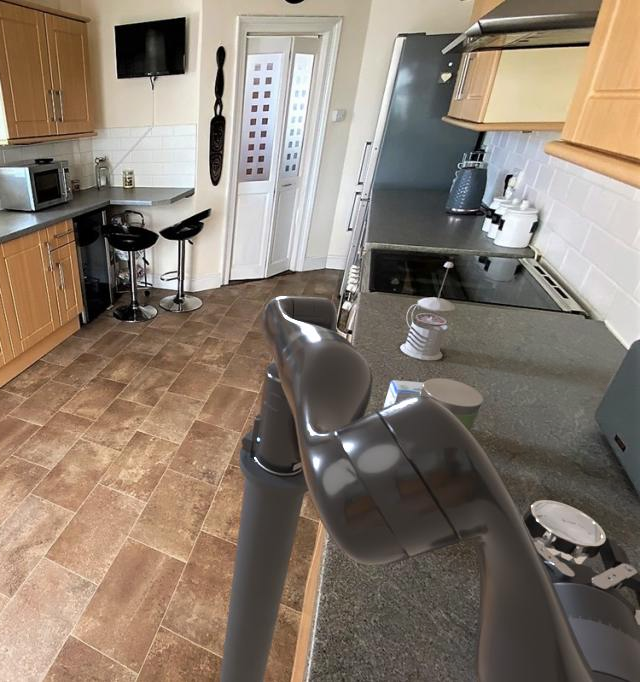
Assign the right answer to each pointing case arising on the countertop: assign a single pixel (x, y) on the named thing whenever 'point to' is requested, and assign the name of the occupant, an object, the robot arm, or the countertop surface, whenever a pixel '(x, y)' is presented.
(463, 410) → the tin stack
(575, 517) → the beer glass
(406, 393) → the medicine box
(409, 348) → the french press
